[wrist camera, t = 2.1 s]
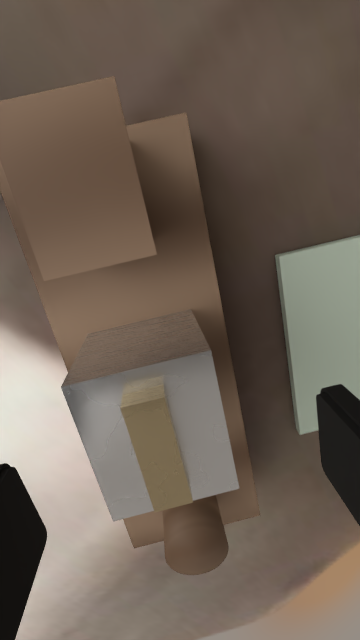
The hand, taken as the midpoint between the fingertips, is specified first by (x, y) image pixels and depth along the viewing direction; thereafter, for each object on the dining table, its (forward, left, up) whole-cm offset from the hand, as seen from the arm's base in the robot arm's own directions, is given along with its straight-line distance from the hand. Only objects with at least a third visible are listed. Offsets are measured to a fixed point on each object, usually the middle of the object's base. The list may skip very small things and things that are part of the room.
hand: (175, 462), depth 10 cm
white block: (0, +1, -7) cm, 7 cm away
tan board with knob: (0, +1, -10) cm, 10 cm away
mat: (-2, -12, -10) cm, 16 cm away
